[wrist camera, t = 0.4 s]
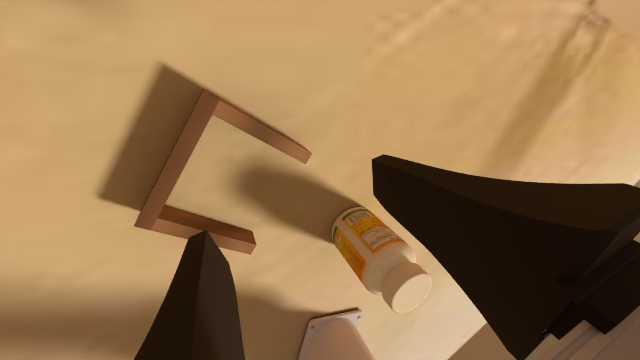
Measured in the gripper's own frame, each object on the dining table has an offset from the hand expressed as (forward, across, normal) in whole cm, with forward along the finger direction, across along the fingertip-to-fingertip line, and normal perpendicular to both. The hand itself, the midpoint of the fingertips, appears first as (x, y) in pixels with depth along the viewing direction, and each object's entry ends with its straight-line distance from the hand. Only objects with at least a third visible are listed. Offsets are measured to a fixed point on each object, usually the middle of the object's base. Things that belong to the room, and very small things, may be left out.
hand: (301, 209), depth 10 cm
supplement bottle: (+9, -6, +14) cm, 18 cm away
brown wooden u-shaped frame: (+11, +3, +3) cm, 11 cm away
